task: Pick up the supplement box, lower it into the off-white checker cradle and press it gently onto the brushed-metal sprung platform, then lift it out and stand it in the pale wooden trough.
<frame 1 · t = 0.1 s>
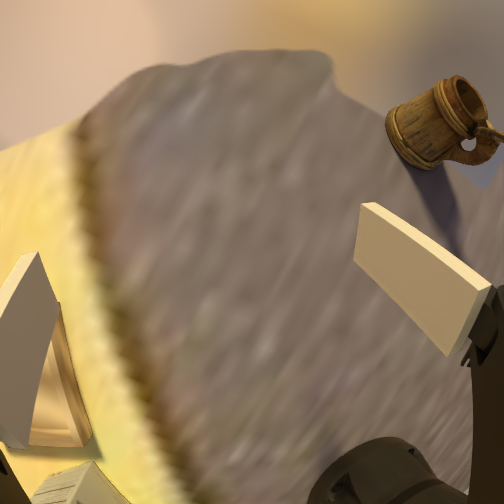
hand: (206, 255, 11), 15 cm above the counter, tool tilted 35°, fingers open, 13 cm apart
wooden trough: (21, 373, 22), on the counter
wooden mug: (417, 154, 34), on the counter
supplement box: (90, 490, 21), on the counter
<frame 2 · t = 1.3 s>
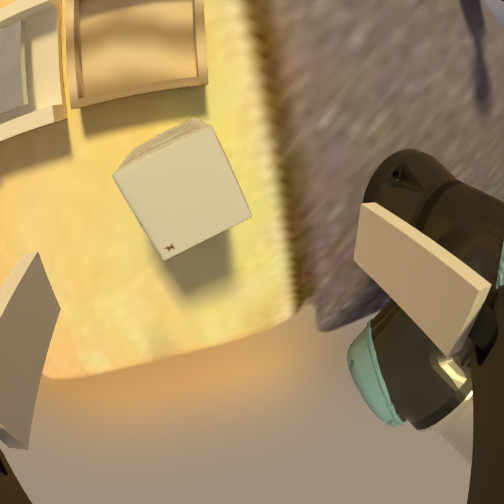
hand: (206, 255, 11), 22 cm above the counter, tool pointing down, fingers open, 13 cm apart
checker cradle: (13, 73, 20), on the counter
wooden trough: (136, 36, 23), on the counter
supplement box: (177, 160, 30), on the counter
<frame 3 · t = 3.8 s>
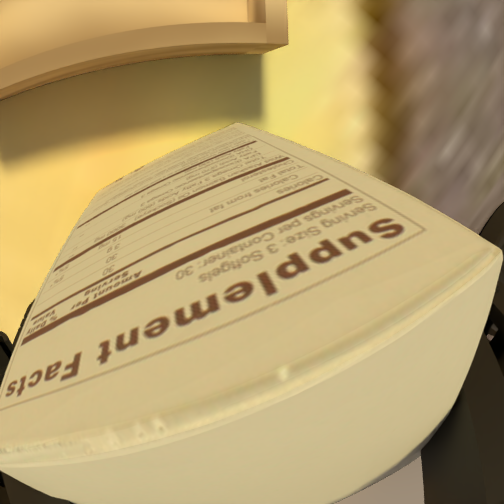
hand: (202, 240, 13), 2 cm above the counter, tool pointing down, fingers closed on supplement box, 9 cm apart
supplement box: (195, 216, 15), on the counter, touching gripper
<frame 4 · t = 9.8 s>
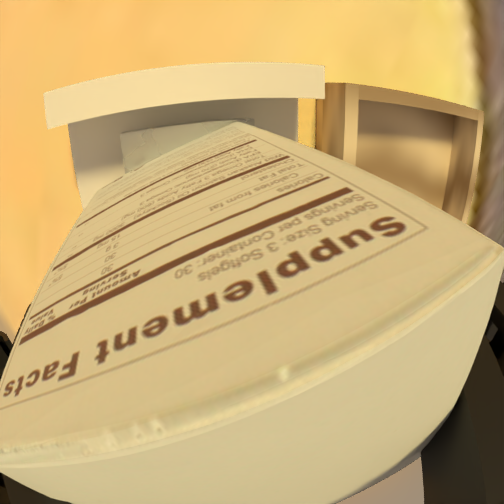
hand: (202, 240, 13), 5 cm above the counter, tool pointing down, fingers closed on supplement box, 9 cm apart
checker cradle: (190, 198, 17), on the counter
wooden trough: (392, 180, 20), on the counter
cradle platform: (194, 214, 15), point 2 cm above the counter, slide at 1.0 cm, touching supplement box
supplement box: (195, 215, 15), point 3 cm above the counter, touching cradle platform, gripper
when the fingers open (5 cm above the counter, at t = 17.5 s): supplement box drops 1 cm, resting on wooden trough.
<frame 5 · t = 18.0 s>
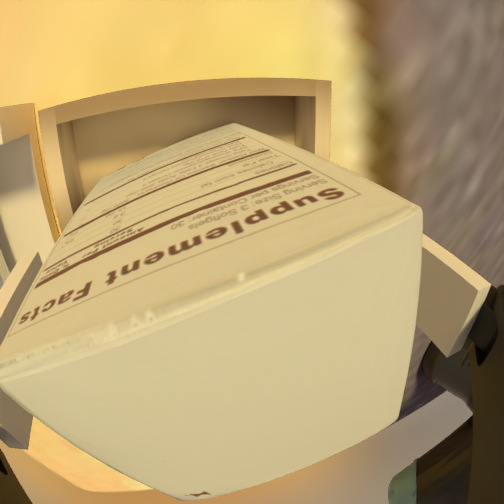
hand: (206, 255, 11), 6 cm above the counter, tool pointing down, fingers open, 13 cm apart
wooden trough: (191, 202, 17), on the counter
supplement box: (189, 206, 16), point 1 cm above the counter, touching wooden trough
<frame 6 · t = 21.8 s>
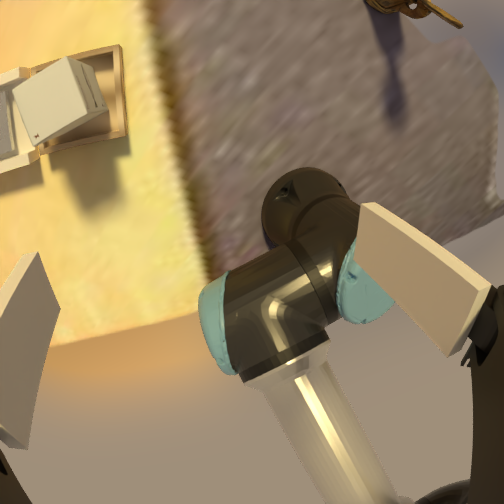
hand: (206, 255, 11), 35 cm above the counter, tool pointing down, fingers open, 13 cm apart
checker cradle: (1, 123, 31), on the counter
wooden trough: (81, 99, 34), on the counter
wooden mug: (379, 2, 36), on the counter
supplement box: (78, 99, 33), point 1 cm above the counter, touching wooden trough
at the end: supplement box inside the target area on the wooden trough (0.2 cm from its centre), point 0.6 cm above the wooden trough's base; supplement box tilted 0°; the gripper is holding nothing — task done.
